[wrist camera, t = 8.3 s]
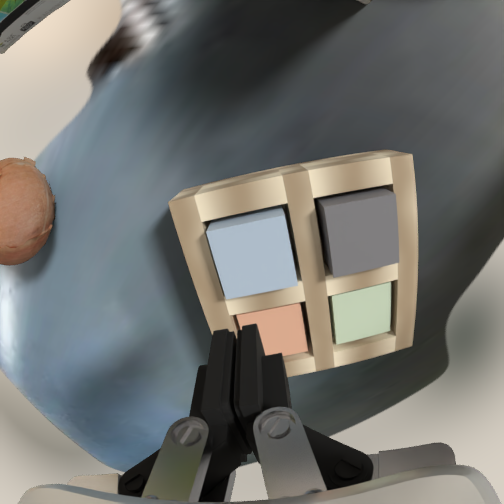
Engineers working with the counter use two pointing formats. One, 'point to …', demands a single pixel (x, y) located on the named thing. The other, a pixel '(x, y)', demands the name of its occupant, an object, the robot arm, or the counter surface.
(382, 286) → the key sage
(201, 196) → the wooden puzzle board
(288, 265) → the key pale blue
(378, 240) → the key charcoal
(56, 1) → the tea box
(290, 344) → the key terracotta
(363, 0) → the coffee box
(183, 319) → the counter surface
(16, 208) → the onion
